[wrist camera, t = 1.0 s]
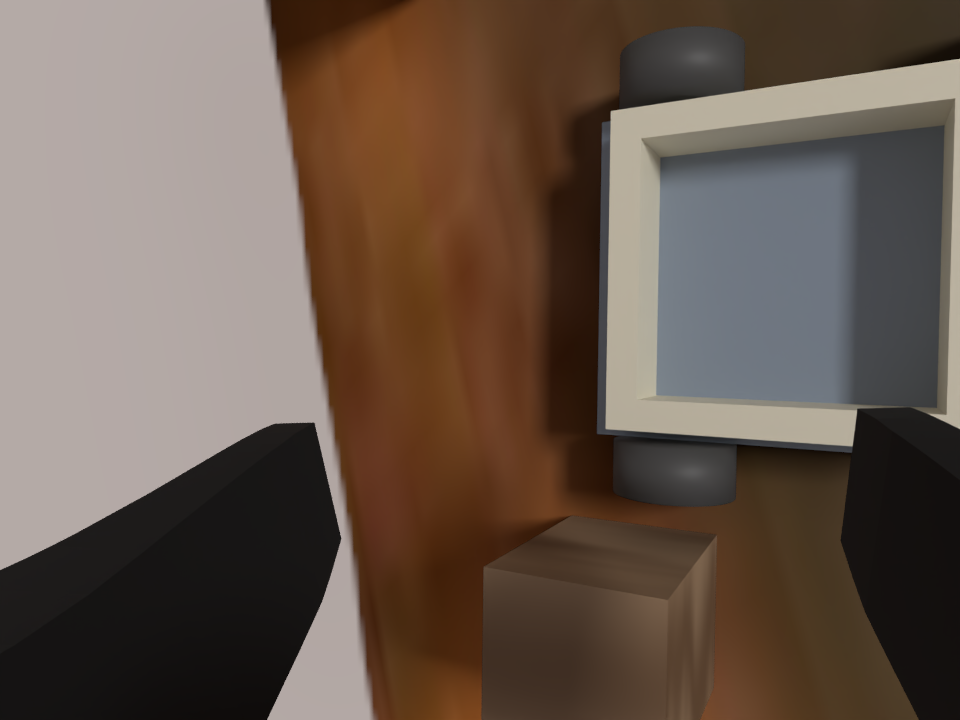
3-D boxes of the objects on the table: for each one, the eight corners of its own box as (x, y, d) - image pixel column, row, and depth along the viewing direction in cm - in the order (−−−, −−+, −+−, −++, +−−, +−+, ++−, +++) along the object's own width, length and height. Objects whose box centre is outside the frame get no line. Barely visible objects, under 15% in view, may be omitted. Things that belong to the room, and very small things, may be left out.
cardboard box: (714, 686, 20) (664, 805, 15) (570, 653, 22) (481, 747, 17) (716, 534, 20) (668, 600, 15) (572, 515, 22) (483, 566, 17)
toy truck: (1182, 533, 15) (1255, 574, 13) (608, 475, 22) (571, 494, 19) (1201, -10, 15) (1279, -93, 12) (615, 87, 21) (578, 47, 18)
